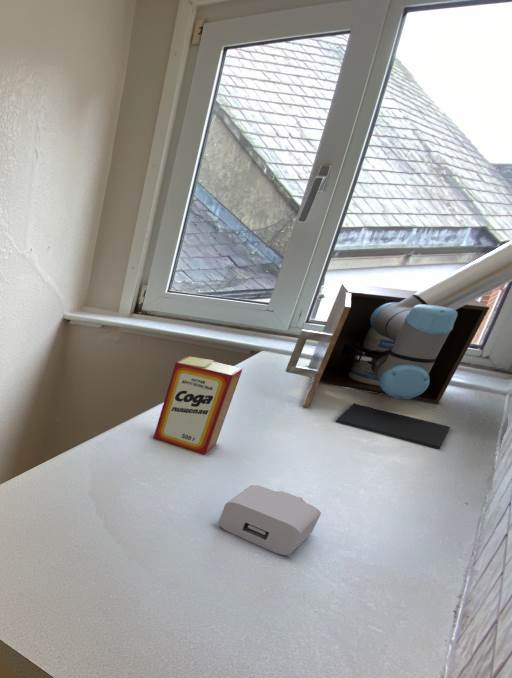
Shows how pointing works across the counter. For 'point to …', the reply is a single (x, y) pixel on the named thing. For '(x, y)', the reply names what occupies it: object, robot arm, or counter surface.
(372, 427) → the mat
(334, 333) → the cupboard door
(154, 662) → the counter surface
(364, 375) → the supplement tub
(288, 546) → the charger
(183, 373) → the baking soda box
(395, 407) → the counter surface
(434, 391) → the cupboard
